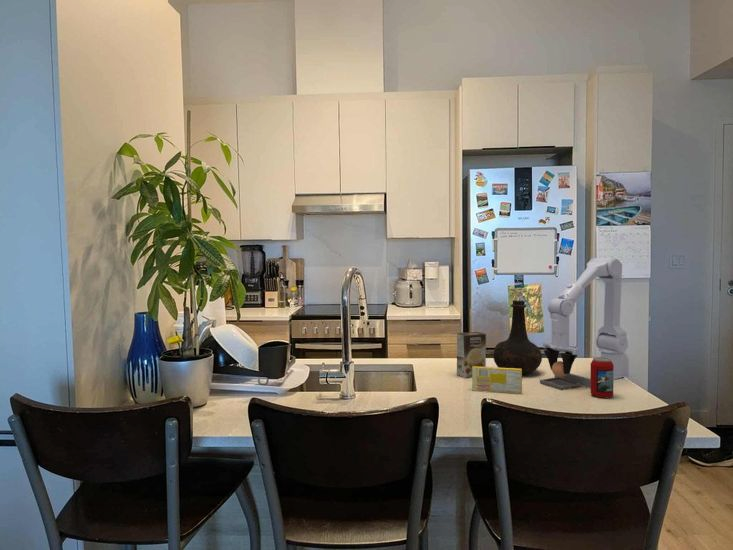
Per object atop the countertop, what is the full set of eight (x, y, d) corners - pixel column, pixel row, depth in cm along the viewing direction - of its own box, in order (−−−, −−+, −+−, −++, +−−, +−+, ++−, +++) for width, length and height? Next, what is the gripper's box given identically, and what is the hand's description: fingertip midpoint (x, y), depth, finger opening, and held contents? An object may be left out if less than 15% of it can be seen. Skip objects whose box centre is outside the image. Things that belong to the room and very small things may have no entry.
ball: (559, 374, 185) (560, 359, 184) (572, 377, 180) (572, 362, 179) (548, 376, 182) (548, 360, 182) (560, 379, 177) (560, 363, 177)
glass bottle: (488, 367, 208) (487, 298, 207) (532, 366, 209) (532, 297, 208) (501, 379, 191) (501, 303, 189) (549, 377, 191) (549, 302, 190)
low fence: (556, 377, 191) (556, 369, 191) (592, 387, 177) (592, 379, 177) (554, 378, 191) (554, 369, 191) (590, 388, 176) (590, 379, 176)
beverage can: (603, 400, 163) (604, 362, 162) (585, 394, 169) (585, 358, 168) (618, 396, 166) (618, 359, 165) (599, 391, 172) (600, 356, 171)
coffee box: (464, 378, 192) (464, 335, 191) (456, 374, 198) (456, 332, 197) (486, 376, 195) (486, 333, 194) (477, 372, 201) (477, 331, 200)
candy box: (522, 393, 173) (522, 368, 172) (521, 394, 171) (521, 369, 170) (472, 389, 178) (472, 365, 178) (472, 391, 176) (471, 366, 176)
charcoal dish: (558, 380, 188) (558, 376, 188) (581, 386, 179) (581, 383, 179) (539, 383, 184) (539, 380, 184) (561, 390, 175) (561, 386, 175)
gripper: (536, 330, 185) (536, 368, 186) (568, 336, 172) (568, 377, 173) (551, 329, 188) (551, 366, 189) (583, 335, 175) (583, 375, 176)
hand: (560, 371), depth 181 cm, fingers closed on ball, 5 cm apart
